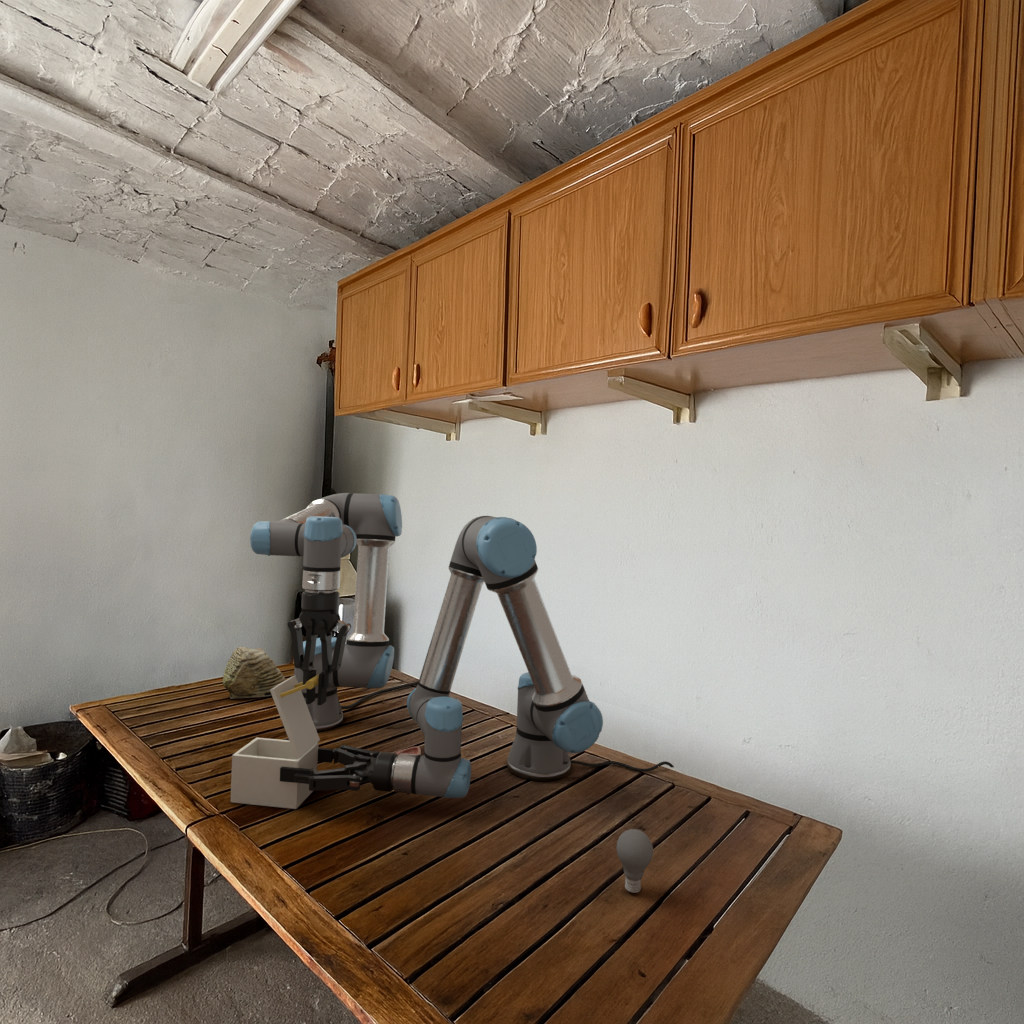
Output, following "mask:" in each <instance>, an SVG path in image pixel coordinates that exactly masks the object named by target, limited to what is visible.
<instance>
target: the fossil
mask: <svg viewBox="0 0 1024 1024" xmlns="http://www.w3.org/2000/svg"><path fill="white" fill-rule="evenodd" d="M222 676H223V677H222V685H223V687H224V688H225V690H226V691H228V693H229V698H230V699H250V698H264V697H272V694H271V692H270V690H271V689H272V688H274V687H276V686H277V685H279V684H281V683H282V682H284V681H286V680H287V679H286V678H285V676H284V674H283V673H282V672H281V669H279V668H278V667H277V665H276V663H275V662H274V660H273V659H272V658H271V657H270V656H269V655H268V654H267V653H266V652H265V650H264V649H263V648H260V647H258V648H251V647H247V646H246V647H245V646H238V647H237V648H236V649H235V650H233V651H232V653H231V656H230V657H229V659H228V660H227V663H226V666H225V668H224V671H223V675H222Z"/></svg>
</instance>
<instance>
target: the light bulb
mask: <svg viewBox="0 0 1024 1024" xmlns="http://www.w3.org/2000/svg"><path fill="white" fill-rule="evenodd" d="M615 849H616V854H617V857H618V859H619V861H620V863H621V865H622V867H623V873H624V874H623V875H624V876H625V878H624V888H625V890H627V891H628V892H630V893H634V894H635V893H639V892H640V891H641V889H642V887H641V886H642V879H643V877H644V875H645V871H646V868H647V867H648V866H649V864H650V863H651V861H652V859H653V855H654V847H653V843H652V841H651V838H649V836H648V835H647V834H646V833H645V832H643V831H642V830H641V829H636V828H629V829H627V830H625V831H623V832H622V833H621V834H620V835H619V837H618V839H617V841H616V847H615Z"/></svg>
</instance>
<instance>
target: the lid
mask: <svg viewBox="0 0 1024 1024" xmlns="http://www.w3.org/2000/svg"><path fill="white" fill-rule="evenodd" d="M318 678H319V674H318V675H316V676H315V677H313V678H312V679H310V680H308V681H307V682H306V684H305V685H303V682H301V683H298V681H297V679H296V676H294V675H292V676H290V677H289V678H287V679H285V680H286V681H284V682H282V683H281V684H279V685H277V686H276V687H274V688H272V689H271V690H270V692H271V694H272V696H271V697H272V699H273V703H274V704H275V707H276V710H277V713H278V715H279V718H280V720H281V722H282V726H283V728H284V730H285V731H284V732H285V733H286V736H287V740H289V741H290V744H291V746H292V749H293V752H294V754H295V757H296V759H300V758H301V757H302V756H303V755H304V754H305V753H306V752H308V751H309V750H310V749H311V748H312V747H313V746H314V745H315V744H316V743H319V742H320V741H321V739H320V736H319V734H318V732H317V731H316V728H315V725H314V723H313V720H312V718H311V715H310V712H309V710H308V707H307V705H306V702H305V699H304V697H303V694H302V692H301V690H302V689H305V688H307V689H312V688H314V687H315V686H317V685H318Z"/></svg>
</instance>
